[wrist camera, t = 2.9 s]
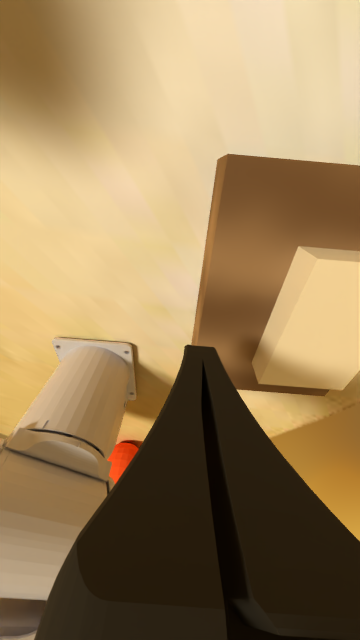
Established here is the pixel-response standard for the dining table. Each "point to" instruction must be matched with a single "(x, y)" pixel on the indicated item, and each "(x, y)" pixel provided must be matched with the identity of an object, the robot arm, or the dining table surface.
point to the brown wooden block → (266, 248)
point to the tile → (314, 323)
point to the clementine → (121, 459)
